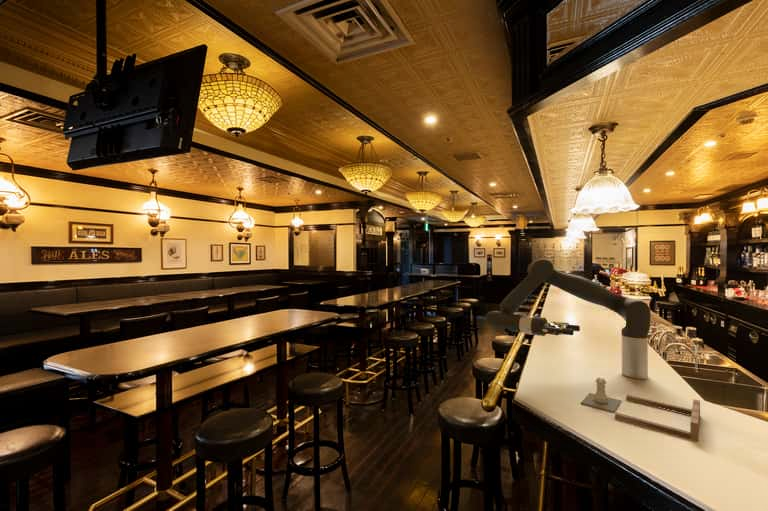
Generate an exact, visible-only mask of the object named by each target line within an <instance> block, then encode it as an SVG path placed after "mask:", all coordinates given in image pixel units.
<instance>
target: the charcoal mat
mask: <svg viewBox="0 0 768 511" xmlns="http://www.w3.org/2000/svg"><path fill="white" fill-rule="evenodd" d="M594 395H595V393H592V392H589V393H588V394H587V395H586V396H585V397H584V398H583V399H582V401H581V402H580V404H581V405H583V406H588V407H590V408H595V409H598V410H602V411H606V412H610V413H613V414H614V413H616V411H617V409H618V408H619V407H620V405H621V403H622V400H621V399H617V398H613V397H609V396H607V397H608V403H606V404H602V403H598V402H596V401H595V400H594V398H595V397H594Z"/></svg>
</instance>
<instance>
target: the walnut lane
mask: <svg viewBox="0 0 768 511" xmlns="http://www.w3.org/2000/svg"><path fill="white" fill-rule="evenodd" d="M625 398H626V399H625V400H626V401H628V402H632V403H637V404H640V405H645V406H649V405H650V407H653V406H655V407H654V408H657V407H661V408H660V409H662V408H665V409H664V410H666V409H669V410H668V411H670V410H674V411H677V412H676V413H678V412H681V413H680V414H682V413H684V415H687V414H689V415H688V416H690V421H689V423H690V424H689V425H690V426H689V427H690V431H688V430H684V429H681V428H676V427H672V426H669V425H665V424H662V423H659V422H654V421H649V420H647V419H644V418H643V419H642V418H639V417H635V416H631V415H628V414H623V413H620V412H616V411H615V414H614V419H615V420H618V421H623V422H625V423H629V424H632V425H633V424H634V425H636V426H637V425H638V426H641V427H644V428H648V429H652V430H655V431H659V432H662V433H665V434H669V435H673V436H676V437H679V438H684V439H687V440H690V441H695V442H699V435H700V434H699V433H700V425H701V424H700V422H701V400H698V399H695V398H694V399H693V400H692V405H691V406H692V407H691V408H692V409H691V408H688V407H687V408H686V407H683V406H679V405H678V406H677V405H673V404H669V403H665V402H661V401H656V400H652V399H647V398H644V397H640V396H639V397H638V396H635V395H630V394H626V396H625ZM674 411H673V412H674Z"/></svg>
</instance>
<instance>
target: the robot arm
mask: <svg viewBox="0 0 768 511" xmlns="http://www.w3.org/2000/svg"><path fill="white" fill-rule="evenodd" d="M526 270H527V273H528V274H527V275H526V277H525V278H524V279H523V280H522V281H521V282H519V284H518V285H517V286H515V288H513V289H512V290H511V291H510V292H509V293H508V294H507V296H505V298H503V300H502V302H500V304H499V307H500V310H491V311H489V312H488V313H486V315H485V321H486V324H487V325H488V326H489V327H490V328H491V329H492V330H493V331H494V332H498V333H499V332H503V330H505V329H508V331H510V332H516V333H523V334H525V335H534V336H541V337H545V336H546V335H553V336H559V335H567V336H574V332H580V331H581V328H580V325H575V324H570V323H569V322H561V321H550V322H548V319H547V318H546V317H543V316H531V315H514V314H515V313H516V312H517V310H518V309H519V308H520V307H521V305H522V304H523V303H524V302H526V300H527V299H528V298H529V296H530V295H531V294H532V293H533V292H534V291H535V290H536V289H537V288H538V287H539V286H541V284H542V283H544V284H547V285H551V286H554V287H556V288H558V289H559V290H562V291H564V292H566V293H568V294H569V295H572V296H575V297H576V298H578V299H580V300H583V301H585V302H588V303H591V304H594V305H598V306H602V307H604V308H607V309H608V310H611V311H613V312H614V313H616V314H618V315H620V316H621V317H623V318H624V319H625V326H624V327H622V328H621V374H622V376H626V377H628V378H631V379H638V380H647V379H648V377H649V375H648V374H649V360H648V359H649V349H648V348H649V347H648V346H649V344H648V342H649V341H648V337H649V332H650V329H651V308H650V306H649V304H648V303H646V302H645V301H643V300H639V299H635V298H629V297H626V296H623V295H620V294H618V293H615V292H612V291H611V290H609V289H607V288H606V287H604V286H603V285H601V283H597V282H595V281H594V280H591V279H589V278H586V277H583V276H579V275H576V274H571V273H567V272H562V271H559V270H557V269H555V266H554V263H553V262H552V261H550V260H549V259H546V258H539V259H535V260H534V261H531V262H530V263H529V264H528V266H527V269H526ZM564 326H565V327H564Z"/></svg>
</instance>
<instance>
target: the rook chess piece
mask: <svg viewBox="0 0 768 511" xmlns="http://www.w3.org/2000/svg"><path fill="white" fill-rule="evenodd" d="M595 382H596V392H595V393H594V394H595V395H594V397H595V398H594V400H595V401H596V402H598V403H602V404H606V403H608V397H609V396H608V395H607V394H606V384H607V381H606V379H605V378H603V377H596V379H595Z"/></svg>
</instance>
